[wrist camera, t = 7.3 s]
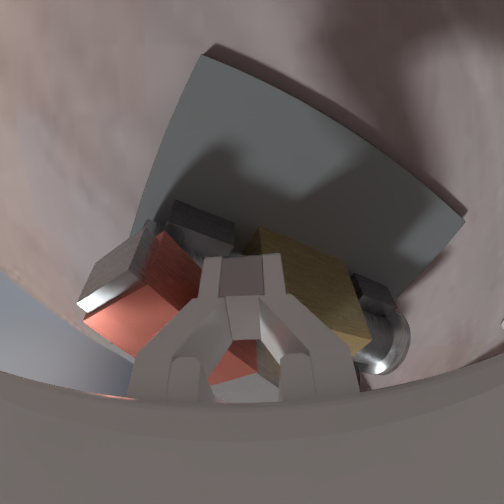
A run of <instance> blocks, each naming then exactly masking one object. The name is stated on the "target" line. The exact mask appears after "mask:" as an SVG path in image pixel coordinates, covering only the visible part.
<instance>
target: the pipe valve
mask: <svg viewBox="0 0 504 504" xmlns="http://www.w3.org/2000/svg"><path fill="white" fill-rule="evenodd" d="M145 227H147V228H148V229H149V231H150V232H151V233H152V234H153V235H154V236H157V235H158V234H160V233H162V232H163V231H166V232H167V233H168V234H169V236H170V237H171V238H172V239H173V240H174V241H175V242H176V243H177V244H178V245H179V246H180V247H181V248H182V249H183V250H184V251H185V252H186V253H187V254H188V255H189V256H190V257H191V258H192V259H193V261H194V262H195V263H196V264H197V265H198V266H199V267H200V268H201V269H202V267H203V261H204V259H205V257H219V256H222V257H223V256H228V255H229V254H230V252H231V250H232V249H233V247H234V222H231V221H229V220H226V219H224V218H221V217H219V216H216V215H214V214H211V213H209V212H206V211H204V210H201V209H199V208H196V207H193V206H191V205H188V204H186V203H183V202H181V201H178V200H175V201H174V203H173V206H172V208H171V211H170V213H169V216H168V218H167V221H166V223H165V225H162V224H160V223H157V222H154V221H152V220H149V219H147V220H146V222H145V224H144V226H143V228H145ZM143 228H142V229H143ZM272 253H280V255H281V260H282V267H283V274H284V282H285V289H286V294H292V295H293V296H294V297H296V298H297V299H298V300H299V301H300V302H301V303H302V304H303V305H304V306H305V307H306V308H308V309H309V310H310V311H311V312H312V313H313V314H314V315H315V316H316V317H317V318H318V319H320V320H321V321H322V322H323V323H324V324H325V325H326V326H327V327H328V328H329V329H330V330H332V331H333V332H334V333H335V334H336V335H337V336H338V337H339V338H340V339H341V340H342V341H344V342H345V343H346V344H347V345H348V346H349V347H350V351H351V355H352V359H353V361H354V362H355V364H356V365H357V367H358V368H359V369H360V370H361V371H362V372H364V373H367V374H374V375H386V374H388V373H391V372H392V371H394V370H395V369H396V368H397V367H398V366H399V365H400V364H401V363H402V362H403V360H404V358H405V357H406V354H407V352H408V349H409V345H410V328H409V324H408V322H407V320H406V319H405V317H404V316H403V315H402V314H401V313H399V312H397V311H394V310H396V309H397V306H396V304H395V302H394V300H393V297H392V295H391V293H390V291H389V289H388V287H387V286H385V285H383V284H380V283H378V282H376V281H373V280H371V279H369V278H366V277H364V276H362V275H359V274H357V273H355V272H354V273H353V274H352V275H351V276H349V274H348V271H347V268H346V266H345V263H344V261H342V260H339V259H337V258H335V257H332V256H330V255H328V254H326V253H323V252H321V251H319V250H316V249H314V248H312V247H309V246H307V245H305V244H302V243H300V242H298V241H295V240H293V239H290V238H288V237H286V236H283V235H281V234H279V233H276V232H274V231H271V230H269V229H267V228H264V227H262V226H259V227H258V228H257V230H256V232H255V233H254V235H253V236H252V238H251V240H250V241H249V243H248V244H247V246H246V247H245V249H244V251H243V252H242V254H241V255H240V256H243V255H262V254H272Z"/></svg>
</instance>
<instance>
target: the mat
mask: <svg viewBox="0 0 504 504" xmlns="http://www.w3.org/2000/svg"><path fill="white" fill-rule="evenodd" d="M175 200H178V201H181V202H183V203H186V204H188V205H191V206H193V207H196V208H199V209H201V210H204V211H206V212H209V213H211V214H214V215H216V216H219V217H221V218H224V219H226V220H229V221H231V222H234V247H233V249H232V250H231V252H230V254H229V255H228V256H240V255H241V254H242V252H243V251H244V249H245V247H246V246H247V244H248V243H249V241H250V240H251V238H252V236H253V235H254V233H255V232H256V230H257V228H258V227H259V226H262V227H264V228H267V229H269V230H271V231H274V232H276V233H279V234H281V235H283V236H286V237H288V238H290V239H293V240H295V241H298V242H300V243H302V244H305V245H307V246H309V247H312V248H314V249H316V250H319V251H321V252H323V253H326V254H328V255H330V256H332V257H335V258H337V259H339V260H342V261H344V263H345V266H346V268H347V271H348V274H349V276H351V275H352V274H353V273H354V272H355V273H357V274H359V275H362V276H364V277H366V278H369V279H371V280H373V281H376V282H378V283H380V284H383V285H385V286H387V287H388V289H389V291H390V293H391V295H392V297H393V300H394V299H395V298H397V297H398V296H399V295H400V294H401V293H402V292H403V291H404V290H405V289H406V288H407V287H408V286H409V285H410V284H411V283H412V282H413V281H414V280H415V278H416V277H417V276H418V275H419V274H420V273H421V272H422V271H423V270H424V269H425V268H426V267H427V266H428V265H429V264H430V263H431V262H432V260H433V259H434V258H435V257H436V256H437V255H438V254H439V253H440V252H441V250H442V249H443V248H444V247H445V246H446V245H447V244H448V243H449V241H450V240H451V239H452V238H453V237H454V235H455V234H456V233H457V232H458V231H459V230H460V228H461V227H462V226H463V225H464V223H465V221H464V220H463V218H462V217H461V216H460V215H459V214H458V213H457V212H455V211H454V210H453V209H452V208H451V207H450V206H449V205H448V204H447V203H446V202H444V201H443V200H442V199H441V198H440V197H439V196H438V195H436V194H435V193H434V192H433V191H432V190H431V189H429V188H428V187H427V186H426V185H425V184H423V183H422V182H421V181H420V180H419V179H417V178H416V177H415V176H414V175H412V174H411V173H410V172H409V171H407V170H406V169H405V168H403V167H402V166H401V165H399V164H398V163H397V162H395V161H394V160H393V159H391V158H390V157H389V156H387V155H386V154H385V153H383V152H382V151H381V150H379V149H378V148H376V147H375V146H373V145H372V144H371V143H369V142H368V141H366V140H365V139H363V138H362V137H360V136H359V135H357V134H356V133H354V132H353V131H351V130H350V129H348V128H347V127H345V126H344V125H342V124H340V123H339V122H337V121H336V120H334V119H332V118H331V117H329V116H327V115H326V114H324V113H322V112H321V111H319V110H317V109H316V108H314V107H312V106H310V105H309V104H307V103H305V102H303V101H302V100H300V99H298V98H296V97H294V96H292V95H291V94H289V93H287V92H285V91H283V90H281V89H279V88H277V87H275V86H273V85H271V84H269V83H267V82H265V81H263V80H261V79H259V78H257V77H255V76H253V75H250V74H248V73H246V72H244V71H242V70H239V69H237V68H235V67H233V66H230V65H228V64H226V63H223V62H221V61H218V60H216V59H214V58H211V57H209V56H206V55H203V54H202V55H201V56H200V58H199V60H198V62H197V64H196V66H195V68H194V70H193V72H192V74H191V76H190V78H189V80H188V82H187V84H186V86H185V88H184V91H183V93H182V95H181V97H180V99H179V102H178V104H177V106H176V109H175V111H174V113H173V115H172V118H171V120H170V123H169V125H168V127H167V130H166V132H165V135H164V137H163V140H162V142H161V145H160V148H159V150H158V153H157V156H156V158H155V161H154V164H153V166H152V169H151V172H150V175H149V178H148V181H147V183H146V186H145V189H144V192H143V195H142V198H141V202H140V205H139V208H138V211H137V214H136V218H135V221H134V224H133V228H132V231H131V235H130V237H132V236H133V235H135V234H136V233H137V232H139V231H140V230H142V228H143V226H144V224H145V222H146V220H147V219H149V220H152V221H154V222H157V223H160V224H162V225H165V223H166V221H167V218H168V216H169V213H170V211H171V208H172V206H173V203H174V201H175Z"/></svg>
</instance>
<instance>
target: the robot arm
mask: <svg viewBox="0 0 504 504" xmlns="http://www.w3.org/2000/svg"><path fill="white" fill-rule="evenodd" d="M501 326H502V328H503V329H504V321H503V322H502V324H501ZM246 339H261V341H262V342H263V343H264V345H265V346H266V348H267V349H268V350H269V352H270V353H271V354H272V356H273V357H274V358H275V360H276V361H277V362H278V363H279V365H280V377H279V399H278V402H259V403H217V401H216V399H215V396H214V394H213V392H212V389H211V387H210V384H209V382H208V377H209V376H210V374H211V373H212V371H213V370H214V368H215V367H216V366H217V364H218V363H219V361H220V360H221V358H222V357H223V355H224V354H225V352H226V351H227V350H228V348H229V347H230V345H231V344H232V342H233V341H232V340H246ZM0 504H504V353H502V354H500V355H497V356H494V357H492V358H489V359H486V360H484V361H481V362H478V363H475V364H472V365H469V366H466V367H463V368H460V369H456V370H453V371H450V372H446V373H443V374H439V375H436V376H432V377H428V378H424V379H421V380H417V381H412V382H408V383H404V384H399V385H395V386H390V387H385V388H380V389H375V390H369V391H363V392H360V389H359V385H358V381H357V376H356V372H355V368H354V363H353V359H352V355H351V351H350V347H349V346H348V345H347V344H346V343H345V342H344V341H342V340H341V339H340V338H339V337H338V336H337V335H336V334H335V333H334V332H333V331H332V330H330V329H329V328H328V327H327V326H326V325H325V324H324V323H323V322H322V321H321V320H320V319H318V318H317V317H316V316H315V315H314V314H313V313H312V312H311V311H310V310H309V309H308V308H306V307H305V306H304V305H303V304H302V303H301V302H300V301H299V300H298V299H297V298H296V297H294V296H293V295H292V294H286V289H285V282H284V274H283V267H282V260H281V255H280V253H272V254H262V255H243V256H223V257H222V256H219V257H205V259H204V261H203V267H202V273H201V279H200V286H199V292H198V298H193V299H191V300H190V301H189V302H188V303H187V304H186V305H185V306H184V307H183V308H182V309H181V310H180V311H179V312H178V313H177V314H176V315H175V316H174V317H173V318H172V319H171V320H170V321H169V322H168V323H167V324H166V325H165V326H164V327H163V328H162V329H161V330H160V331H159V332H158V333H157V334H156V335H155V336H154V337H153V338H152V339H151V340H150V341H149V342H148V343H147V344H146V345H145V346H144V347H143V348H142V349H141V350H140V351H139V352H138V353H137V354H136V358H135V362H134V367H133V371H132V375H131V379H130V384H129V389H128V393H127V397H118V396H111V395H104V394H97V393H91V392H85V391H80V390H74V389H70V388H64V387H60V386H55V385H51V384H47V383H42V382H38V381H34V380H30V379H27V378H23V377H19V376H16V375H13V374H9V373H6V372H3V371H0Z"/></svg>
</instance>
